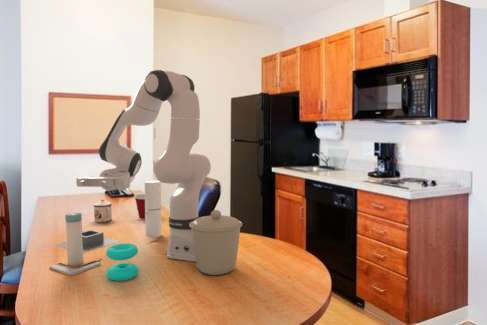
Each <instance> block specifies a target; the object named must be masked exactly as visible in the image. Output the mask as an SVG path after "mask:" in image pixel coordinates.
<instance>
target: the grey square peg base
mask: <svg viewBox="0 0 487 325" xmlns="http://www.w3.org/2000/svg"><path fill="white" fill-rule="evenodd" d="M119 242H121V240H119V239H116V238H115V239H114V238H112V237H106V236H104V232H102V231H99V230H98V231H97V230H94V229H89V230H85V231H82V243H83V254H84V253H88V252H90V251H93V250H96V249H99V248H103V247H106V246H109V245H112V244H115V243H119ZM56 246H58V247H62V248H65V249H67V241H65V242H61V243H58V244H56Z"/></svg>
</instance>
